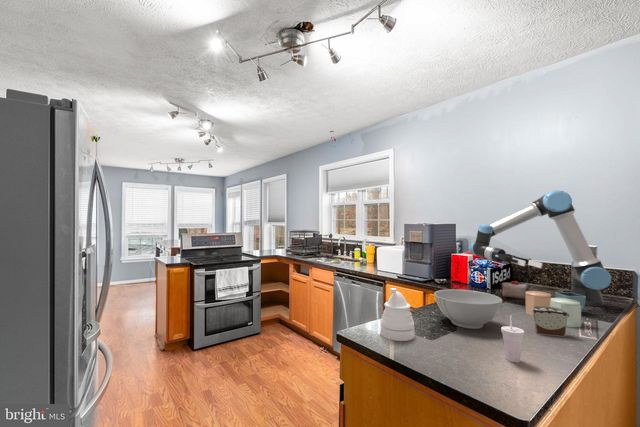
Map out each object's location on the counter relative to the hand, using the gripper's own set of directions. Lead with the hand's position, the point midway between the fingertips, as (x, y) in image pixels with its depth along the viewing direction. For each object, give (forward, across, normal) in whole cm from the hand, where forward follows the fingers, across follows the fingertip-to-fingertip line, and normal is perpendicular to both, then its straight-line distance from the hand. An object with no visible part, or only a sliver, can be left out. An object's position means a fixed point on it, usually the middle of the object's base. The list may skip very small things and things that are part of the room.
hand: (533, 264), depth 153 cm
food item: (-18, -21, -24) cm, 36 cm away
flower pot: (+12, -16, -20) cm, 28 cm away
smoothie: (+37, +62, -26) cm, 76 cm away
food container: (+26, +25, -23) cm, 43 cm away
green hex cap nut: (+22, +5, -21) cm, 30 cm away
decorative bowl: (+6, +46, -29) cm, 55 cm away
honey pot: (+5, +82, -33) cm, 89 cm away
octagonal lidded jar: (+8, +1, -22) cm, 24 cm away
